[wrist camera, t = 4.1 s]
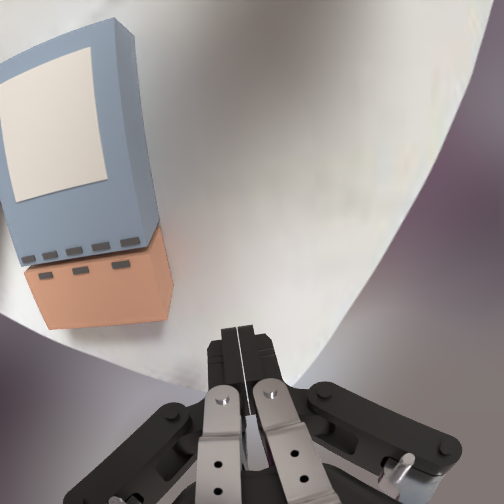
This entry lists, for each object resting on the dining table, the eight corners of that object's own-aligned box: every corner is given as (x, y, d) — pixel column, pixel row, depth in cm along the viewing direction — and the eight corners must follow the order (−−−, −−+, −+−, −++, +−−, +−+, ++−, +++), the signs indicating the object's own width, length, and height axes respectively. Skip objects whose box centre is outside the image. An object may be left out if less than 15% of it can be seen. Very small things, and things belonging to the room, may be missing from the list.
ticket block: (134, 35, 17) (113, 16, 12) (159, 219, 23) (147, 247, 18) (19, 76, 16) (-19, 73, 11) (49, 239, 22) (20, 267, 17)
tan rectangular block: (160, 227, 23) (148, 255, 18) (173, 284, 25) (167, 321, 21) (49, 246, 22) (22, 274, 18) (68, 297, 24) (48, 331, 20)
